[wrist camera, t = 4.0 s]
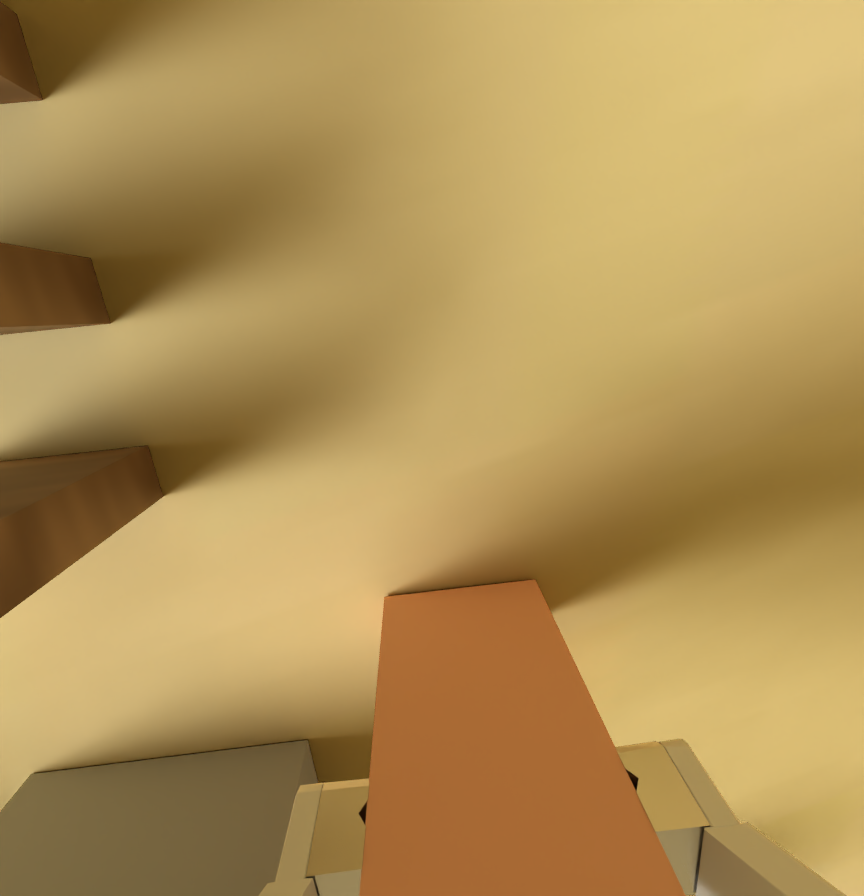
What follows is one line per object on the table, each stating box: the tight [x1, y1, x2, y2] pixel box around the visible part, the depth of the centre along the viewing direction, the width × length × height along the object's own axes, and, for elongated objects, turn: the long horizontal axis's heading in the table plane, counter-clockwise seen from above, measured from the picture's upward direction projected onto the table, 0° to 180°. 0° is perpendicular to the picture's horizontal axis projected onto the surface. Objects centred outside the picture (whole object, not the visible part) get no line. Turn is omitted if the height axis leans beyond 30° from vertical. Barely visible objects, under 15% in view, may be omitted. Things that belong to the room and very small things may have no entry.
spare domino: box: [359, 579, 686, 896], centre depth 10 cm, size 2×5×10 cm, turn 95°
